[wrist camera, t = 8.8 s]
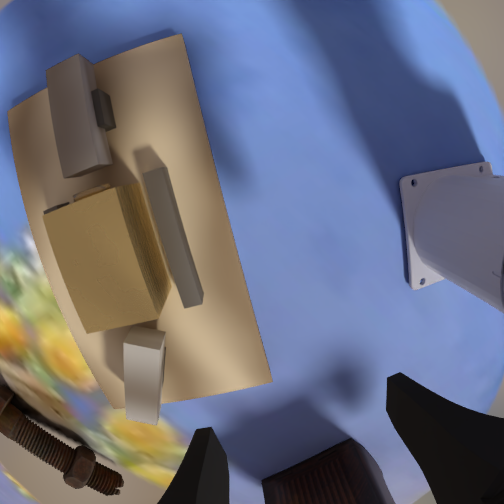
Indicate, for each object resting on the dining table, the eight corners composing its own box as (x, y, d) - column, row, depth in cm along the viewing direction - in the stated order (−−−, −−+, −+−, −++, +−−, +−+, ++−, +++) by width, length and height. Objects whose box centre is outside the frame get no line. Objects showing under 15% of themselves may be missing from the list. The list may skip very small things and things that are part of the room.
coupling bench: (184, 43, 15) (174, 11, 11) (269, 369, 21) (279, 409, 17) (19, 113, 15) (-19, 106, 10) (118, 396, 21) (104, 434, 16)
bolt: (121, 463, 25) (4, 386, 21) (135, 467, 22) (0, 379, 18) (103, 503, 21) (-19, 426, 17) (116, 514, 18) (-26, 426, 14)
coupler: (138, 175, 15) (112, 178, 11) (174, 292, 17) (161, 326, 13) (76, 198, 15) (39, 207, 11) (113, 307, 17) (89, 340, 13)
